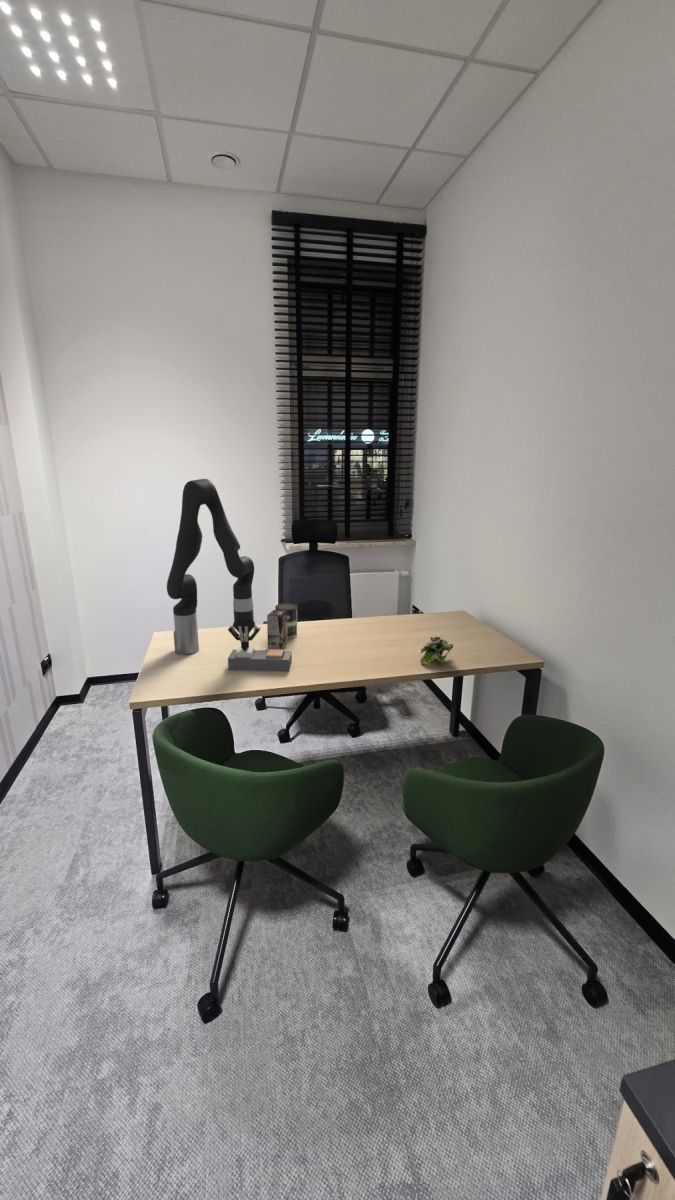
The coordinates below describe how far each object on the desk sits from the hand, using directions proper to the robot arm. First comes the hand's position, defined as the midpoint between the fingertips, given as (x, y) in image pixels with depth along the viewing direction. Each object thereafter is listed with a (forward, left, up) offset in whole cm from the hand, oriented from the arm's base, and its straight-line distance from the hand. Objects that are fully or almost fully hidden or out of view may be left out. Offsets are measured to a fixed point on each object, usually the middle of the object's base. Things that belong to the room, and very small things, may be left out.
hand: (245, 649), depth 192 cm
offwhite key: (0, 0, -3) cm, 3 cm away
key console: (+6, 0, -7) cm, 9 cm away
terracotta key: (+12, 0, -4) cm, 13 cm away
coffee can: (+12, +36, -7) cm, 39 cm away
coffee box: (+10, +20, -7) cm, 24 cm away
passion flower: (+78, +8, -7) cm, 79 cm away
